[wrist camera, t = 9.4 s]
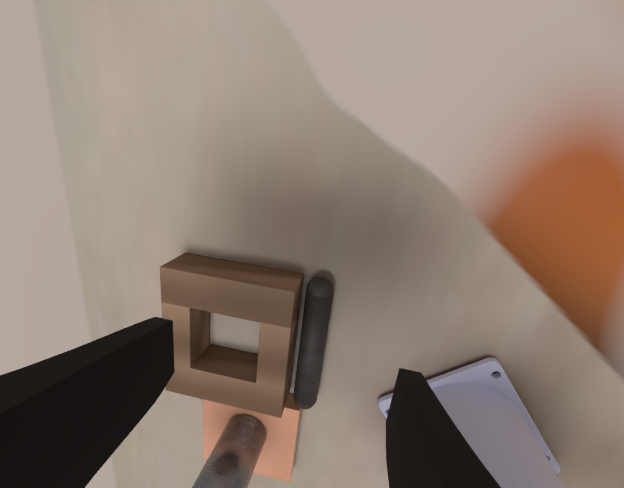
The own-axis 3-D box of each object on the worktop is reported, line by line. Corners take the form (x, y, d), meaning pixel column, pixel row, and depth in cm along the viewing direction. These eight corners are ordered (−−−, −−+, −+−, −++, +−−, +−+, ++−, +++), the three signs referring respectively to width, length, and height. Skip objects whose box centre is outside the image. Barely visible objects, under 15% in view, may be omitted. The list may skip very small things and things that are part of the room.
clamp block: (184, 248, 19) (159, 262, 17) (336, 275, 18) (331, 293, 16) (187, 368, 22) (166, 393, 20) (317, 398, 21) (311, 429, 19)
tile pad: (211, 376, 22) (203, 388, 21) (303, 397, 21) (299, 410, 20) (210, 444, 24) (203, 458, 23) (293, 466, 23) (290, 482, 22)
